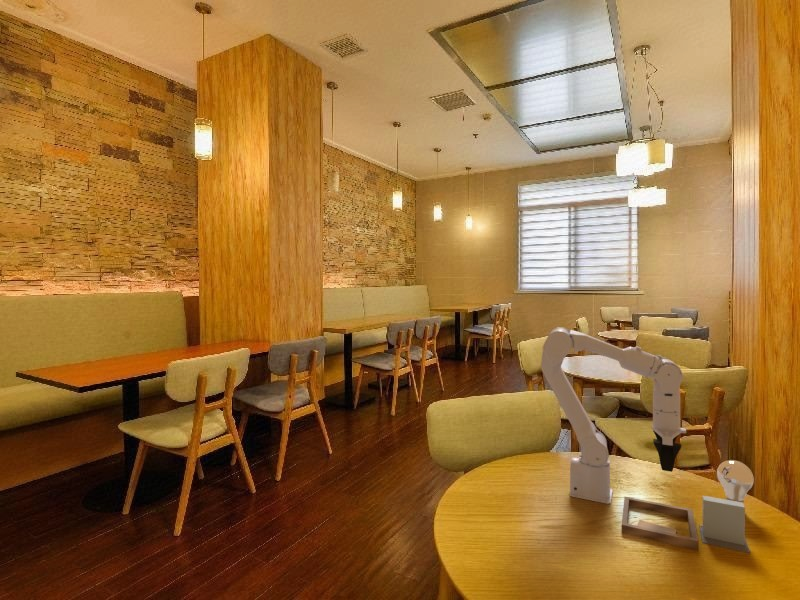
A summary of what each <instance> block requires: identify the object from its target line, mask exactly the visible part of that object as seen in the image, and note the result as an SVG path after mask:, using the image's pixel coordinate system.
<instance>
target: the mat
mask: <svg viewBox="0 0 800 600" xmlns="http://www.w3.org/2000/svg"><path fill="white" fill-rule="evenodd" d="M698 529H699V533H700V538H701V542H702V544H706V545H710V546H714V547H715V546H716V547H720V548H724V549H727V550H729V549H730V550H734V551H736V552H737V551H738V552H743V553H747V554H751V550H750V547H749V545H748V543H747V540H746V538H745V545H741V544H736V543H731V542H727V541H722V540H717V539H713V538H708V537H704V536H703V525H698Z"/></svg>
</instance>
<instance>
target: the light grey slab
mask: <svg viewBox="0 0 800 600" xmlns="http://www.w3.org/2000/svg"><path fill="white" fill-rule="evenodd" d="M743 503H744V502H743ZM743 503H742V502H736V501H731V500H727V499H726V498H725V499H724V498H720V497H713V496H707V495H702V526H703V536H704V537H708V538H713V539H717V540H722V541H727V542H731V543H736V544H741V545H745V539H746V537H745V536H746V533H745V532H746V531H745V530H746V507H745V504H743Z"/></svg>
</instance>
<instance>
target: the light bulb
mask: <svg viewBox="0 0 800 600" xmlns="http://www.w3.org/2000/svg"><path fill="white" fill-rule="evenodd" d="M716 477H717V479H718V481H719V483H720V484H721V486H722V488H723V490H724V494H725V496H726V498H725V500H731V501H736V502H742V503H743V504H744V502H745V501H744V500H745V498H746V495H747V493H748V491H749V490H751V488H752V487H753V485H754V481H755V480H754V475H753V472H752V470H751V469H750V468H749V466H747V465H746V464H745V463H743V462H742V461H739V460H734V459H729V460H725V461H723V462H721V463H720V464H719V466H718V467H717V470H716ZM744 505H745V504H744Z"/></svg>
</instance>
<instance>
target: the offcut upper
mask: <svg viewBox="0 0 800 600" xmlns="http://www.w3.org/2000/svg"><path fill="white" fill-rule="evenodd" d="M636 526H640V527H645V528H649V529H654V530H659V531H663V532H668V533H672V534H677V535H678V531H677V529H674V528H671V527H668V526H664V525H660V524H656V523H653V522H649V521H646V520H642V519H639V520H638V523H637V524H636Z"/></svg>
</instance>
